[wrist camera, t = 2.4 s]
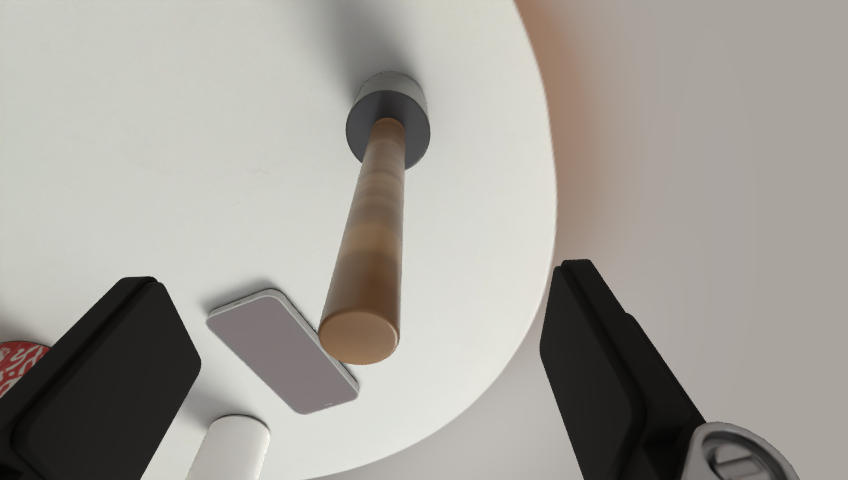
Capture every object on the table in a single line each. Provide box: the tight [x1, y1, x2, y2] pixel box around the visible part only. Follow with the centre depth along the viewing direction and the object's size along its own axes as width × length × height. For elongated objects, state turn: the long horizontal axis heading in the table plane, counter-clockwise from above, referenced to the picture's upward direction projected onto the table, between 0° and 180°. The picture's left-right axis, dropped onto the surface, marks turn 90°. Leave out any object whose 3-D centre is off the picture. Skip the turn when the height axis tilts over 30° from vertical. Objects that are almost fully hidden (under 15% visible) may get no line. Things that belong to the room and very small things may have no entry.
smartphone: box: [205, 289, 360, 415], centre depth 36 cm, size 7×1×15 cm
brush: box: [318, 71, 430, 365], centre depth 16 cm, size 4×4×19 cm
